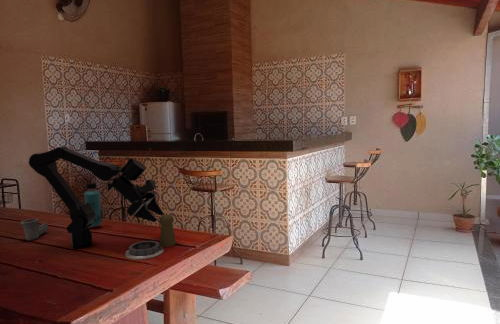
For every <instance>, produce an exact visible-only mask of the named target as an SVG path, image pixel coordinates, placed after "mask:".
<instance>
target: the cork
mask: <svg viewBox="0 0 500 324" xmlns="http://www.w3.org/2000/svg"><path fill="white" fill-rule="evenodd" d="M158 221H159V224H160V235H159V236H160V237H159V243H160V246H161V247H163V248H165V247H166V248H167V247H168V248H169V247H172V246H175V245H177V241H176V237H175V235H176V234H175V230H174V226H173V223H174V216H173V215H172V214H163V215H162V216H161V215H160V217H159V220H158Z"/></svg>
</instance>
